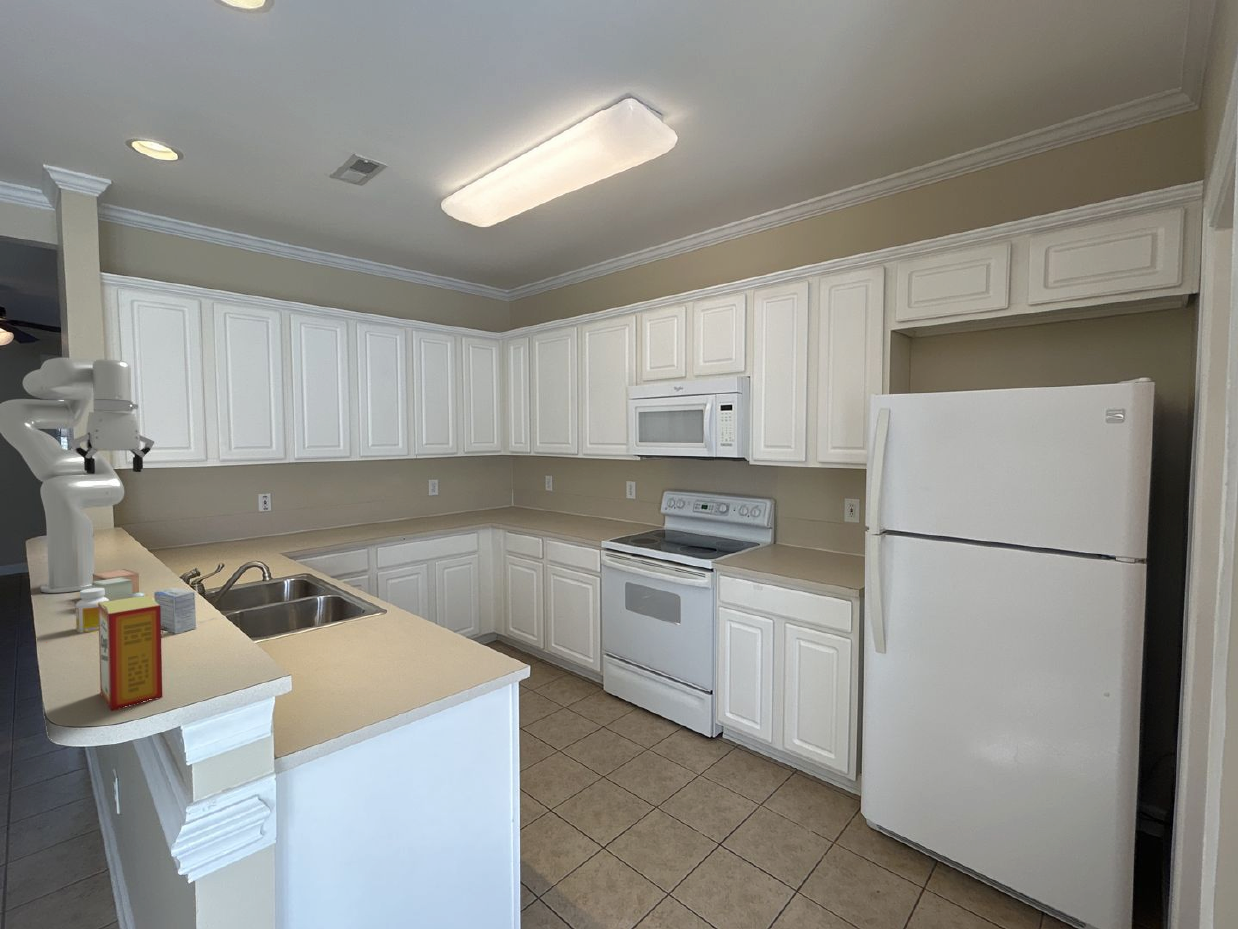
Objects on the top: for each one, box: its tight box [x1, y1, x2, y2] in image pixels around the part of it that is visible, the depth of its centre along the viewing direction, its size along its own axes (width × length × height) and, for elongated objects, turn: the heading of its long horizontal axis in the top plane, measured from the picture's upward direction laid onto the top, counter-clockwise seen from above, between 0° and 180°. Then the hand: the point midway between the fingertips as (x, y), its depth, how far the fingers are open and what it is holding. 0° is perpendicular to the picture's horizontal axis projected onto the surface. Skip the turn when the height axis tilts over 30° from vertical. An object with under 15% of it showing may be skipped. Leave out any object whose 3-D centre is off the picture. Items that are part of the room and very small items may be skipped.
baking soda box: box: [98, 594, 163, 712], centre depth 97 cm, size 10×6×16 cm
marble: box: [131, 592, 146, 597], centre depth 144 cm, size 3×3×3 cm
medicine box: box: [153, 587, 197, 635], centre depth 130 cm, size 8×4×9 cm, turn 65°
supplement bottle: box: [75, 588, 109, 633], centre depth 126 cm, size 5×5×10 cm
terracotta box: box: [93, 568, 140, 594], centre depth 151 cm, size 9×7×6 cm
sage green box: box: [92, 577, 133, 601], centre depth 143 cm, size 6×6×6 cm
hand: (114, 472), depth 152 cm, fingers open, 9 cm apart
